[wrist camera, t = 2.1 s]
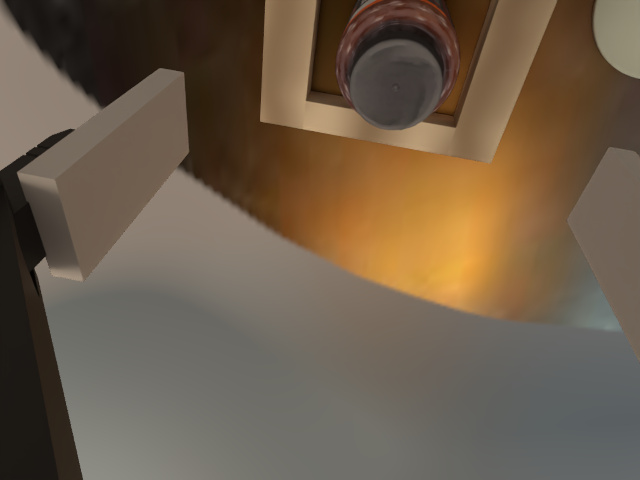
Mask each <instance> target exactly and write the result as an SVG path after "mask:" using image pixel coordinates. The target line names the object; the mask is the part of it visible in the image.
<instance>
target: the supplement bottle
mask: <svg viewBox="0 0 640 480" xmlns="http://www.w3.org/2000/svg"><path fill="white" fill-rule="evenodd" d="M459 67H460V46H459V41H458V38H457V34H456V32H455V28H454V25H453V23H452V20H451V17H450V14H449V11H448V8H447V5H446V3H445V2H444V0H357V3H356V4H355V6H354V9H353V11H352V13H351V16H350V18H349V21H348V23H347V25H346V28H345V30H344V32H343V35H342V37H341V40H340V43H339V46H338V50H337V55H336V67H335V72H336V77H337V82H338V85H339V88H340V90H341V93H342V95H343V97H344V98H345V100H346V102H347V103H348V104H349V105H350V107H351V108H353V109H354V110H355V112H357V113H358V114H359V115H360V116H361V117H362V118H363V119H364V120H365V121H366V122H368V123H369V124H371V125H373V126H375V127H377V128H380V129H384V130H403V129H407V128H410V127H413V126H415V125H417V124H418V123H420V122H422V121H423V120H425V119H426V118H427V117H428V116H429V115H430V114H432V113H433V112H434V111H436V110H437V109H438V108H439V107H440V106H441V105H442V104H443V102H444V101H445V100H446V99H447V98H448V96H449V95H450V93H451V91H452V89H453V87H454V85H455V83H456V80H457V77H458V73H459Z"/></svg>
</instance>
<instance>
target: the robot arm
mask: <svg viewBox="0 0 640 480" xmlns="http://www.w3.org/2000/svg"><path fill="white" fill-rule="evenodd" d="M188 153H189V146H188V131H187V115H186V99H185V84H184V72H179V71H173V70H167V69H161V68H159V69H158V70H157V71H155V72H154V73H152V74H151V75H150V76H148V77H147V78H146V79H144V80H143V81H141V82H140V83H139V84H137V85H136V86H135V87H133V88H132V89H130V90H129V91H128V92H126V93H125V94H124V95H122V96H121V97H120V98H118V99H117V100H115V101H114V102H113V103H111V104H110V105H109V106H107V107H106V108H104V109H103V110H102V111H100V112H99V113H98V114H96V115H95V116H93V117H92V118H91V119H89V120H88V121H87V122H85V123H84V124H82V125H81V126H80V127H79V128H77V129H76V130H74V129H68V130H66V131H63V132H60V133H57V134H54V135H52V136H50V137H48V138H47V139H45V140H44V141H43V142H41V143H40V144H38V145H37V147H34V148H33V149H31V150H30V151H28V152H27V153H26V155H23V156H21V157H20V158H18V159H17V160H15V161H14V162H13V163H11V164H10V165H8V166H7V167H5V168H4V169H2V170H1V171H0V480H83V478H82V473H81V469H80V464H79V459H78V455H77V450H76V446H75V442H74V437H73V433H72V429H71V424H70V419H69V415H68V410H67V406H66V401H65V397H64V392H63V388H62V384H61V379H60V375H59V370H58V366H57V361H56V357H55V352H54V348H53V344H52V339H51V334H50V330H49V325H48V321H47V316H46V312H45V308H44V303H43V299H42V294H41V290H40V285H39V281H38V277H37V274H36V272H35V269H34V268H35V266H36V265H37V264H38V263H39V262H40V261H41V260H42V259H43V258H44V257H46V260H47V262H48V266H49V269H50V272H51V274H52V276H57V277H62V278H67V279H73V280H78V281H83V282H84V281H85V280H86V278H87V277H88V276H89V275H90V273H91V272H92V271H93V270H94V269H95V267H96V266H97V265H98V264H99V262H100V261H101V260H102V259H103V257H104V256H105V255H106V254H107V253H108V251H109V250H110V249H111V248H112V246H113V245H114V244H115V243H116V241H117V240H118V239H119V238H120V236H121V235H122V234H123V233H124V232H125V230H126V229H127V228H128V227H129V225H130V224H131V223H132V222H133V220H134V219H135V218H136V217H137V216H138V214H139V213H140V212H141V211H142V209H143V208H144V207H145V206H146V204H147V203H148V202H149V201H150V199H151V198H152V197H153V196H154V195H155V193H156V192H157V191H158V190H159V188H160V187H161V186H162V185H163V183H164V182H165V181H166V180H167V179H168V177H169V176H170V175H171V174H172V172H173V171H174V170H175V169H176V168H177V166H178V165H179V164H180V163H181V161H182V160H183V159H184V158H185V156H186V155H187V154H188ZM567 222H568V224H569V226H570V228H571V230H572V232H573V234H574V236H575V238H576V240H577V242H578V244H579V246H580V248H581V250H582V251H583V253H584V255H585V257H586V259H587V261H588V263H589V265H590V267H591V269H592V271H593V273H594V275H595V277H596V279H597V281H598V283H599V284H600V286H601V288H602V290H603V292H604V294H605V296H606V298H607V300H608V302H609V304H610V306H611V308H612V310H613V312H614V314H615V315H616V317H617V319H618V321H619V323H620V325H621V327H622V329H623V331H624V333H625V335H626V337H627V339H628V341H629V343H630V344H631V347H632V348H633V350H634V352H635V354H636V356H637V358H638V360H639V362H640V156H639V155H638V154H637V153H636V152H635V151H630V150H624V149H619V148H613V147H609V148H608V150H607V151H606V153H605V155H604V157H603V158H602V160H601V162H600V164H599V165H598V167H597V169H596V170H595V172H594V174H593V176H592V177H591V179H590V181H589V183H588V184H587V186H586V188H585V189H584V191H583V193H582V195H581V196H580V198H579V200H578V202H577V203H576V205H575V207H574V208H573V210H572V212H571V214H570V215H569V217H568V219H567Z"/></svg>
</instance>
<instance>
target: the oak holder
mask: <svg viewBox="0 0 640 480" xmlns="http://www.w3.org/2000/svg"><path fill="white" fill-rule="evenodd" d="M556 3H557V0H491V2H490V5H489V8H488V11H487V15H486V18H485V21H484V24H483V27H482V30H481V33H480V36H479V39H478V42H477V45H476V48H475V51H474V54H473V58H472V61H471V64H470V67H469V70H468V73H467V76H466V79H465V82H464V85H463V88H462V91H461V94H460V97H459V101H458V104H457V107H456V110H455V113H454V116H449V115H444V114H438V113H432V114H430V115H429V116H428V117H427V118H426V119H425V120H423V121H422V122H420V123H418V124H417V125H415V126H413V127H410V128H407V129H403V130H384V129H380V128H377V127H375V126H373V125H371V124H369V123H368V122H366V121H365V120H364V119H363V118H362V117H361V116H360V115H359V114H358V113H357V112H355V110H354V109H353V108H351V107H350V105H349V104H348V103H347V102H346V100H345V98H344V97H343V96H338V95H332V94H327V93H321V92H315V91H311V84H312V75H313V66H314V58H315V49H316V40H317V31H318V22H319V13H320V5H321V0H266V2H265V25H264V48H263V70H262V93H261V116H260V121H261V122H267V123H272V124H278V125H283V126H289V127H294V128H300V129H305V130H310V131H316V132H321V133H327V134H332V135H338V136H343V137H349V138H354V139H360V140H365V141H371V142H376V143H382V144H387V145H393V146H398V147H404V148H409V149H414V150H420V151H425V152H431V153H436V154H442V155H447V156H453V157H458V158H464V159H469V160H475V161H480V162H486V163H491V162H492V159H493V157H494V154H495V152H496V150H497V147H498V145H499V142H500V140H501V137H502V135H503V132H504V130H505V127H506V125H507V123H508V120H509V118H510V115H511V113H512V110H513V108H514V105H515V103H516V101H517V98H518V96H519V93H520V91H521V88H522V86H523V83H524V81H525V78H526V76H527V74H528V71H529V69H530V66H531V64H532V61H533V59H534V56H535V54H536V52H537V49H538V47H539V44H540V42H541V39H542V37H543V34H544V32H545V30H546V27H547V25H548V22H549V20H550V17H551V15H552V12H553V10H554V7H555V5H556Z"/></svg>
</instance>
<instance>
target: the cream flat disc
mask: <svg viewBox="0 0 640 480" xmlns="http://www.w3.org/2000/svg"><path fill="white" fill-rule="evenodd" d="M592 32H593V37H594V40H595V43H596V46H597V48H598V50H599V52H600V53H601V55H602V56H603V57H604V58H605V60H606V61H607V62H609V63H610V64H611V65H612V66H613V67H614V68H616V69H617V70H619V71H620V72H622V73H624V74H626V75H629V76H631V77H635V78H639V79H640V0H594V4H593V10H592Z"/></svg>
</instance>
